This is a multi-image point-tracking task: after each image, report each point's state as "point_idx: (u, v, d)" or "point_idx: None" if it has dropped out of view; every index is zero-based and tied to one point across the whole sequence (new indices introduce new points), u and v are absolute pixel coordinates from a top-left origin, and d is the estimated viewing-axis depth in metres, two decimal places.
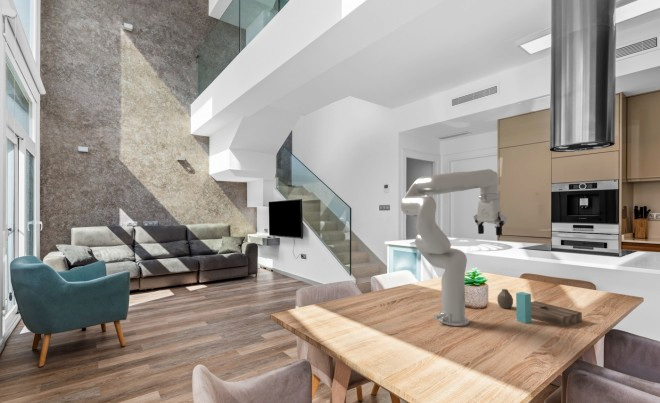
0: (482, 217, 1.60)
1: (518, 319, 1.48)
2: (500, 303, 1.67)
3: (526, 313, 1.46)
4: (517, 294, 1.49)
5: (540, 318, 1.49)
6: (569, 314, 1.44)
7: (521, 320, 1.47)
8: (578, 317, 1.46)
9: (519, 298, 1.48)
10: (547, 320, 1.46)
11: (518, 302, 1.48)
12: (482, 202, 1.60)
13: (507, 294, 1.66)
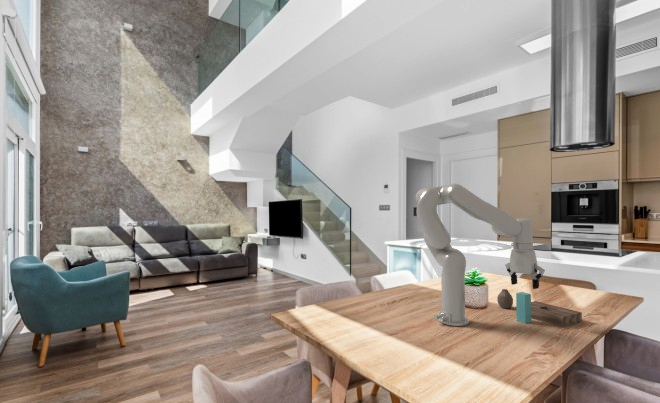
0: (516, 268, 1.49)
1: (518, 319, 1.48)
2: (500, 303, 1.67)
3: (526, 313, 1.46)
4: (517, 294, 1.49)
5: (540, 318, 1.49)
6: (569, 314, 1.44)
7: (521, 320, 1.47)
8: (578, 317, 1.46)
9: (519, 298, 1.48)
10: (547, 320, 1.46)
11: (518, 302, 1.48)
12: (515, 251, 1.49)
13: (507, 294, 1.66)
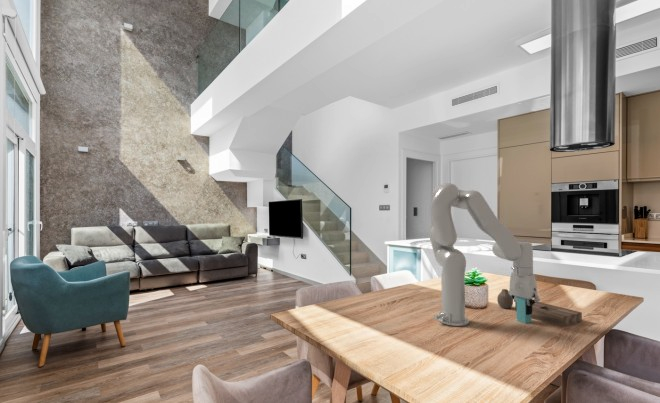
0: (515, 291, 1.48)
1: (518, 319, 1.48)
2: (500, 303, 1.67)
3: None
4: None
5: (540, 318, 1.49)
6: (569, 314, 1.44)
7: (521, 320, 1.47)
8: (578, 317, 1.46)
9: (519, 298, 1.48)
10: (547, 320, 1.46)
11: (518, 302, 1.48)
12: (515, 275, 1.49)
13: (507, 294, 1.66)
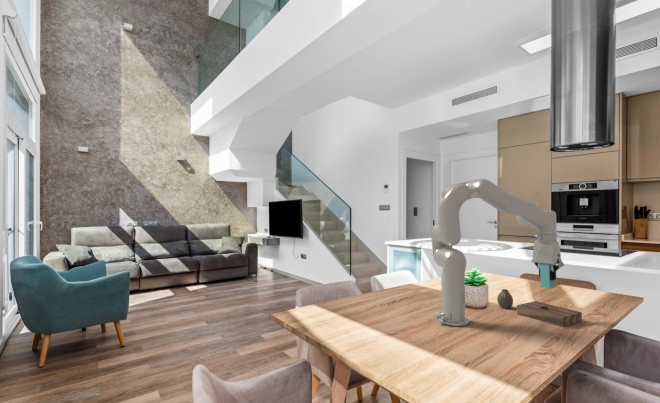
0: (539, 258, 1.53)
1: (541, 285, 1.53)
2: (500, 303, 1.67)
3: None
4: None
5: (540, 318, 1.49)
6: (569, 314, 1.44)
7: (545, 286, 1.52)
8: (578, 317, 1.46)
9: (543, 265, 1.52)
10: (547, 320, 1.46)
11: (542, 268, 1.53)
12: (539, 242, 1.53)
13: (507, 294, 1.66)
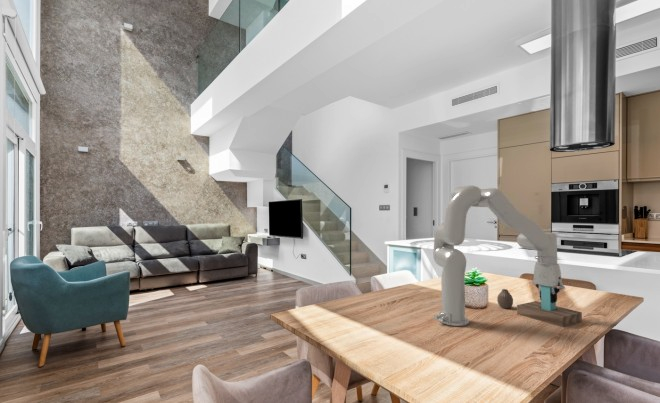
0: (540, 280, 1.53)
1: (542, 307, 1.53)
2: (500, 303, 1.67)
3: None
4: None
5: (540, 318, 1.49)
6: (569, 314, 1.44)
7: (546, 308, 1.52)
8: (578, 317, 1.46)
9: (544, 287, 1.52)
10: (547, 320, 1.46)
11: (543, 291, 1.53)
12: (540, 264, 1.53)
13: (507, 294, 1.66)
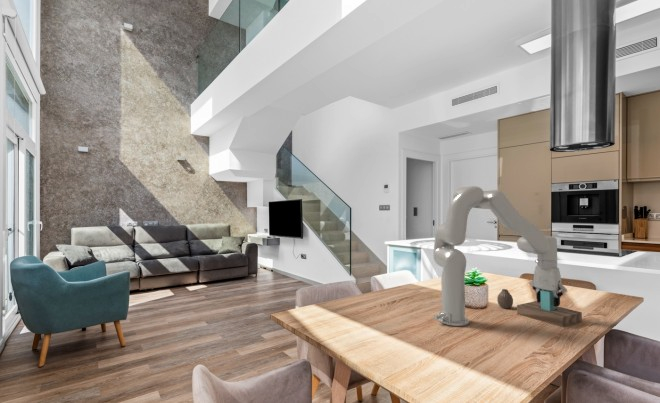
0: (540, 284, 1.53)
1: None
2: (500, 303, 1.67)
3: (551, 309, 1.50)
4: (541, 291, 1.53)
5: (540, 318, 1.49)
6: (569, 314, 1.44)
7: None
8: (578, 317, 1.46)
9: (544, 295, 1.52)
10: (547, 320, 1.46)
11: (542, 299, 1.53)
12: (540, 268, 1.53)
13: (507, 294, 1.66)
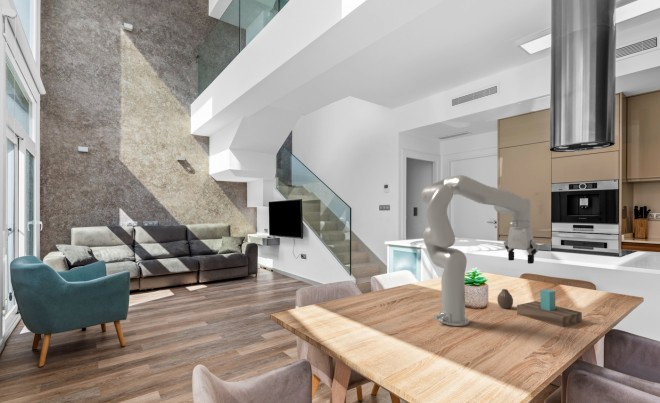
0: (513, 244, 1.59)
1: None
2: (500, 303, 1.67)
3: (551, 309, 1.50)
4: (541, 291, 1.53)
5: (540, 318, 1.49)
6: (569, 314, 1.44)
7: None
8: (578, 317, 1.46)
9: (544, 295, 1.52)
10: (547, 320, 1.46)
11: (542, 299, 1.53)
12: (513, 229, 1.59)
13: (507, 294, 1.66)
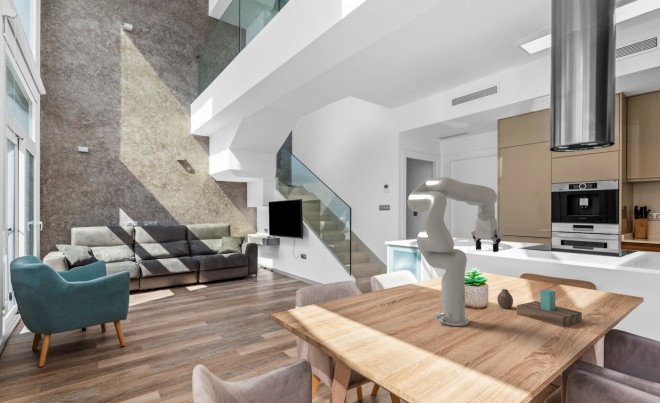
0: (479, 234, 1.66)
1: None
2: (500, 303, 1.67)
3: (551, 309, 1.50)
4: (541, 291, 1.53)
5: (540, 318, 1.49)
6: (569, 314, 1.44)
7: None
8: (578, 317, 1.46)
9: (544, 295, 1.52)
10: (547, 320, 1.46)
11: (542, 299, 1.53)
12: (479, 219, 1.66)
13: (507, 294, 1.66)
